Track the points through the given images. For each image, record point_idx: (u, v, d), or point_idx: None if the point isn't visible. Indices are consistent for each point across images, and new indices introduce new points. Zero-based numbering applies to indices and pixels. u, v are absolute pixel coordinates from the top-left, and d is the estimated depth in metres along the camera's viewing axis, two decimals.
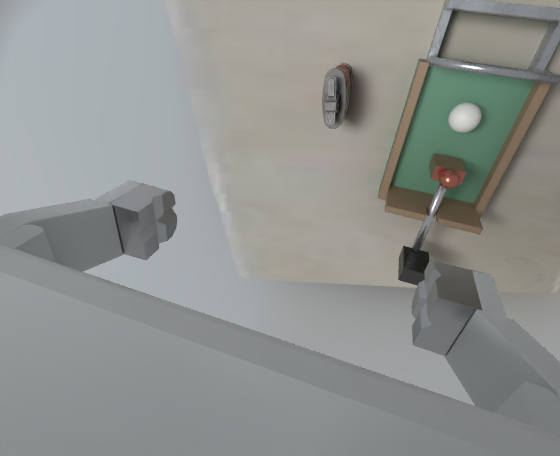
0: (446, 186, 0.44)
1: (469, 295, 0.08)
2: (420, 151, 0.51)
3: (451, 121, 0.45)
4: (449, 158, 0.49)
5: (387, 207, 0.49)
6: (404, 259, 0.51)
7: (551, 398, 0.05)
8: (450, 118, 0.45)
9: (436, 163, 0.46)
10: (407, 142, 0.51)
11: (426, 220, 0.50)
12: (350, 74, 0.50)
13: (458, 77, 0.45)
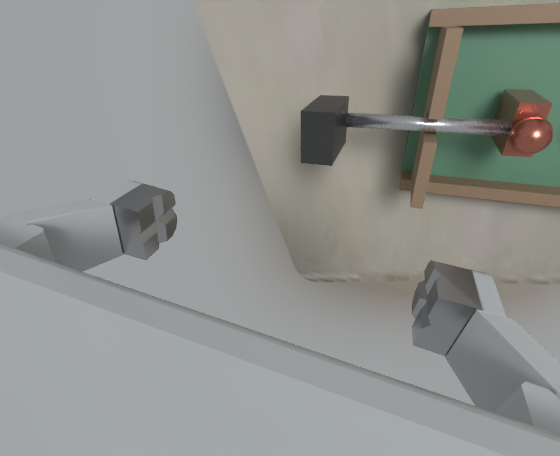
0: (525, 136, 0.23)
1: (469, 295, 0.08)
2: (530, 65, 0.27)
3: None
4: None
5: (458, 31, 0.22)
6: (340, 107, 0.25)
7: (551, 398, 0.05)
8: None
9: None
10: (557, 31, 0.26)
11: (418, 120, 0.27)
12: None
13: None
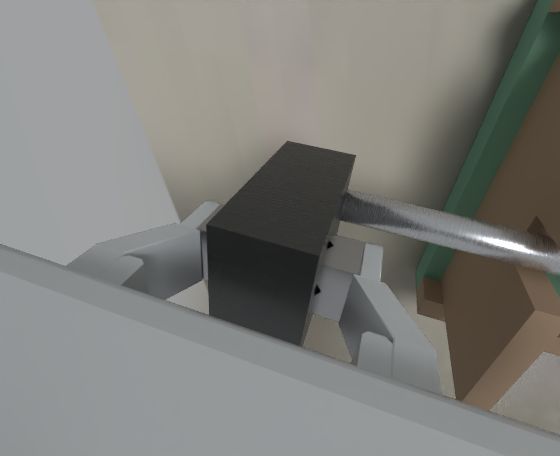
0: None
1: (352, 262, 0.08)
2: None
3: None
4: None
5: None
6: (337, 209, 0.08)
7: (385, 344, 0.06)
8: None
9: None
10: None
11: (520, 245, 0.11)
12: None
13: None
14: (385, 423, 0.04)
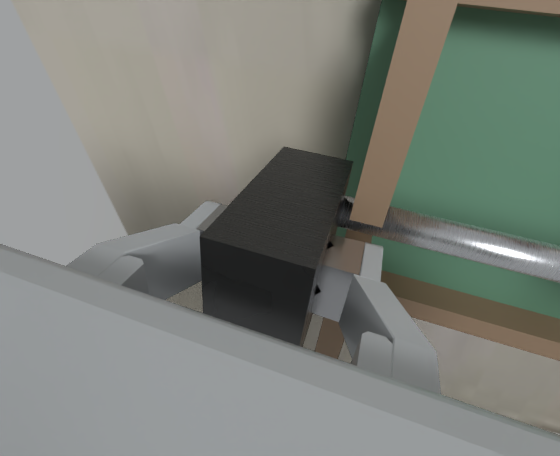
0: None
1: (352, 262, 0.08)
2: None
3: None
4: None
5: None
6: (334, 219, 0.08)
7: (385, 345, 0.06)
8: None
9: None
10: None
11: (520, 252, 0.10)
12: None
13: None
14: (385, 423, 0.04)
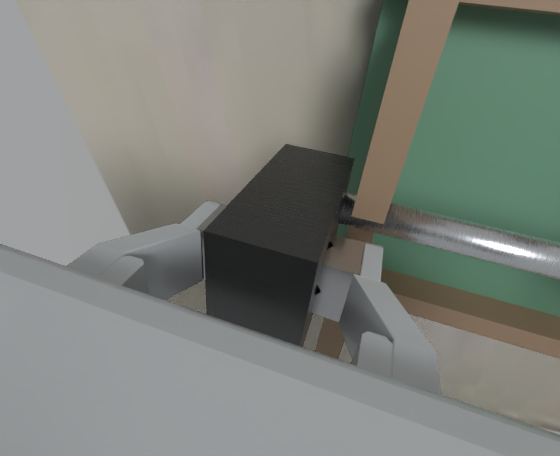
0: None
1: (352, 262, 0.08)
2: None
3: None
4: None
5: None
6: (335, 215, 0.08)
7: (385, 344, 0.06)
8: None
9: None
10: None
11: (519, 248, 0.11)
12: None
13: None
14: (385, 423, 0.04)
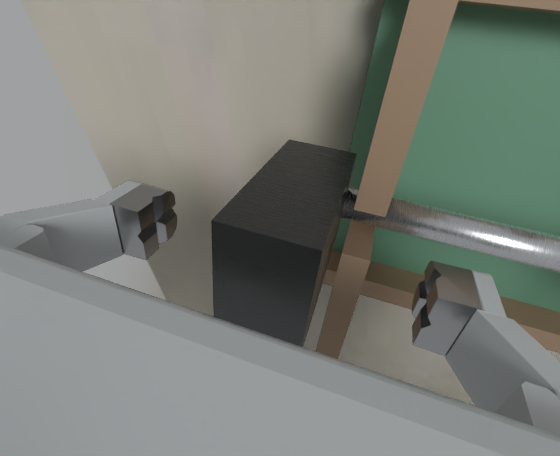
0: None
1: (469, 295, 0.08)
2: None
3: None
4: None
5: None
6: (338, 206, 0.08)
7: (551, 398, 0.05)
8: None
9: None
10: None
11: (518, 241, 0.11)
12: None
13: None
14: (385, 423, 0.04)
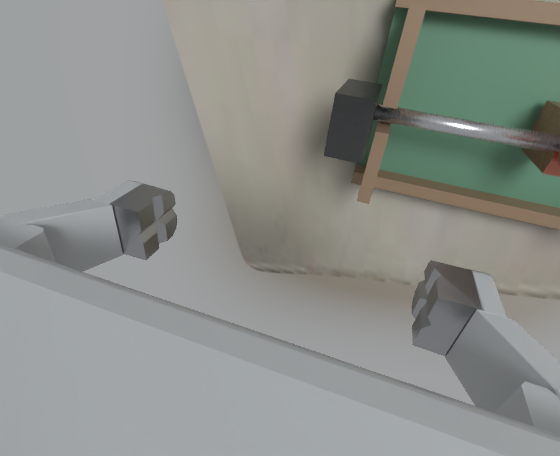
0: None
1: (469, 295, 0.08)
2: (492, 65, 0.26)
3: None
4: None
5: (421, 10, 0.19)
6: None
7: (551, 398, 0.05)
8: None
9: None
10: (522, 32, 0.25)
11: (458, 123, 0.23)
12: None
13: None
14: (385, 423, 0.04)
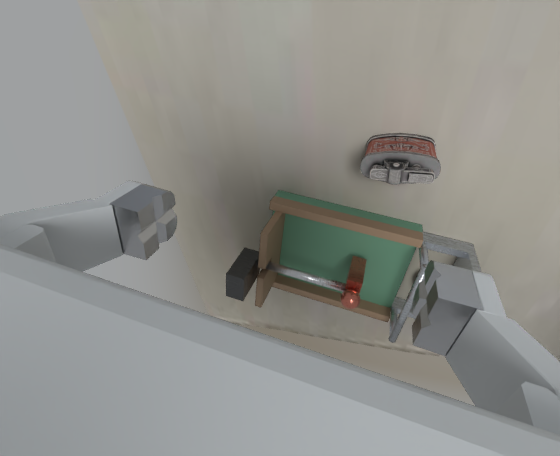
0: (344, 302, 0.42)
1: (469, 295, 0.08)
2: (326, 234, 0.48)
3: None
4: None
5: (266, 235, 0.41)
6: (250, 269, 0.43)
7: (551, 398, 0.05)
8: None
9: (363, 278, 0.44)
10: None
11: (298, 274, 0.45)
12: None
13: (399, 261, 0.47)
14: (385, 423, 0.04)
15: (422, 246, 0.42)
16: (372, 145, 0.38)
